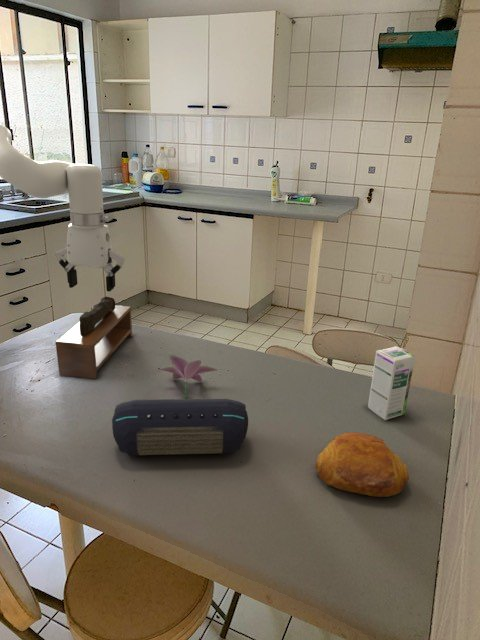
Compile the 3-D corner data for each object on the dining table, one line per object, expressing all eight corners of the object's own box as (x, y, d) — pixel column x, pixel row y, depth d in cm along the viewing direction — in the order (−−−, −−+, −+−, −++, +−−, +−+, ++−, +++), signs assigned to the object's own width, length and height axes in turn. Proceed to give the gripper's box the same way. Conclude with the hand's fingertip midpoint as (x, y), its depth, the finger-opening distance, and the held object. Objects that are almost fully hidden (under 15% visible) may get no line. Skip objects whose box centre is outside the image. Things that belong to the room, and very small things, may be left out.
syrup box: (385, 421, 99) (396, 360, 93) (366, 407, 104) (376, 349, 98) (404, 415, 101) (416, 355, 96) (385, 401, 106) (396, 344, 101)
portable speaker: (109, 468, 82) (105, 420, 78) (118, 433, 91) (114, 389, 87) (249, 464, 84) (252, 418, 80) (244, 431, 93) (247, 388, 90)
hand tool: (102, 309, 128) (101, 293, 126) (116, 310, 128) (115, 294, 126) (70, 336, 111) (68, 318, 109) (86, 338, 110) (84, 320, 108)
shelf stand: (59, 375, 111) (55, 341, 108) (102, 332, 135) (100, 303, 132) (95, 379, 110) (92, 345, 107) (132, 335, 134) (130, 306, 131)
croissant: (401, 522, 76) (417, 486, 72) (308, 490, 79) (320, 454, 75) (398, 464, 89) (412, 431, 85) (319, 438, 91) (329, 406, 88)
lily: (223, 395, 108) (221, 354, 109) (195, 398, 98) (193, 353, 99) (180, 396, 113) (179, 357, 115) (150, 400, 103) (148, 356, 104)
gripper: (128, 219, 112) (130, 286, 119) (60, 213, 114) (66, 280, 120) (116, 225, 105) (119, 296, 112) (44, 219, 107) (51, 289, 113)
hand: (91, 288), depth 116 cm, fingers open, 9 cm apart
